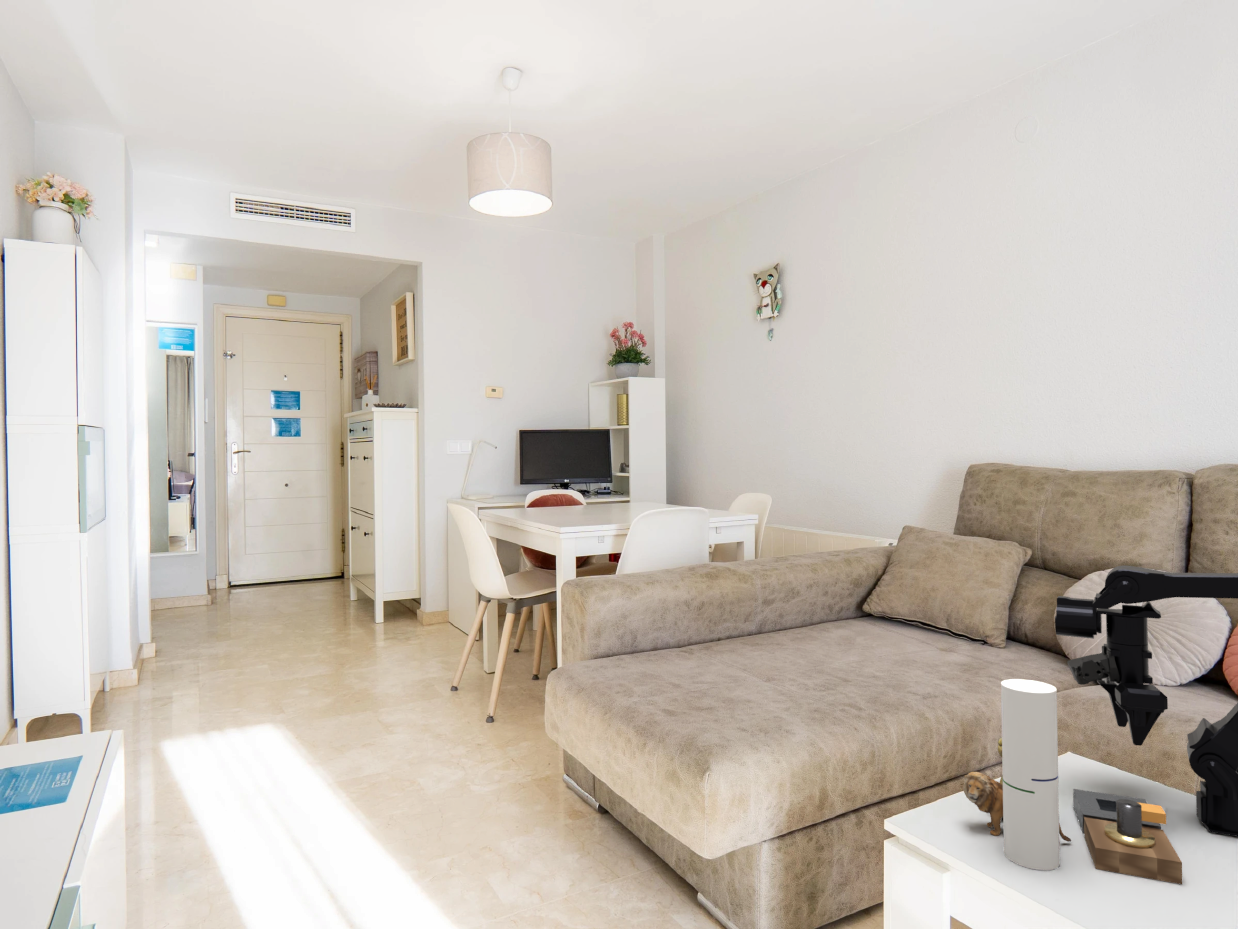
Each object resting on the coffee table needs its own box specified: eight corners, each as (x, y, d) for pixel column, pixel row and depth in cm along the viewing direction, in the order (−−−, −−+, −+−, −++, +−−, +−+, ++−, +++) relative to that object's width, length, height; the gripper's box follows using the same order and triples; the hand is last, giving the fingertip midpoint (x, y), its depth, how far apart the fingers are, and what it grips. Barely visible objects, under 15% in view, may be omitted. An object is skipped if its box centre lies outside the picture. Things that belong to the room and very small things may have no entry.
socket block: (1145, 817, 119) (1145, 799, 119) (1161, 846, 110) (1160, 826, 110) (1073, 806, 123) (1073, 788, 123) (1083, 833, 114) (1082, 814, 114)
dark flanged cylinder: (1149, 853, 108) (1148, 798, 108) (1160, 874, 102) (1159, 816, 102) (1101, 845, 110) (1100, 792, 110) (1109, 864, 105) (1108, 808, 105)
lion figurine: (965, 835, 114) (963, 777, 114) (963, 820, 119) (962, 764, 119) (1074, 852, 108) (1073, 791, 108) (1067, 836, 113) (1066, 777, 113)
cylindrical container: (1068, 872, 103) (1064, 694, 103) (1012, 867, 104) (1009, 691, 105) (1048, 847, 110) (1045, 680, 110) (997, 842, 111) (994, 678, 112)
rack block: (1163, 849, 109) (1162, 829, 109) (1182, 884, 100) (1181, 862, 100) (1084, 836, 113) (1083, 817, 113) (1095, 868, 104) (1095, 847, 104)
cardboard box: (1161, 815, 111) (1160, 805, 111) (1166, 824, 108) (1166, 814, 108) (1137, 812, 112) (1137, 802, 112) (1141, 820, 109) (1141, 810, 109)
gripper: (1060, 627, 134) (1062, 713, 134) (1083, 651, 117) (1086, 749, 117) (1132, 631, 130) (1134, 720, 130) (1167, 656, 113) (1170, 758, 113)
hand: (1129, 735), depth 122 cm, fingers open, 9 cm apart
